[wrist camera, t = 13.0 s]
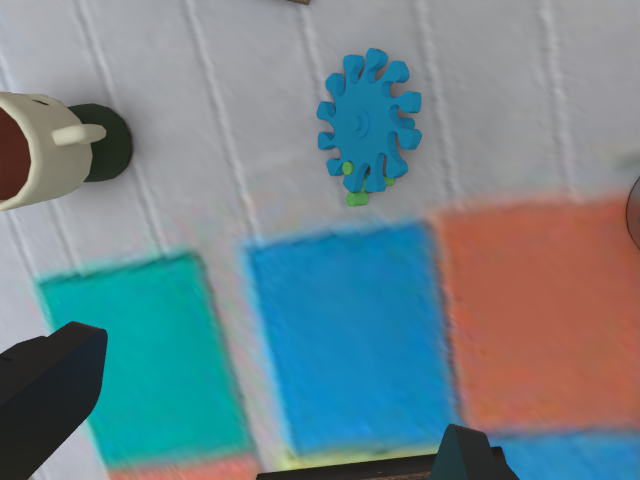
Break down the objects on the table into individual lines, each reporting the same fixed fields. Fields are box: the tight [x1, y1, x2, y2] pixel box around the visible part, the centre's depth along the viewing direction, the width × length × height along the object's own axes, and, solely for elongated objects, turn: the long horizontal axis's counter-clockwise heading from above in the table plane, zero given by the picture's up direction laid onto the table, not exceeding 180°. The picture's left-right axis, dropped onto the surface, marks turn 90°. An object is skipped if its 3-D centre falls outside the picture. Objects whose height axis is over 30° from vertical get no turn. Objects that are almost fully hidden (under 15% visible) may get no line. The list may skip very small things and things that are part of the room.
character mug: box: [0, 92, 131, 211], centre depth 35 cm, size 11×7×13 cm, turn 103°
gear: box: [317, 48, 422, 206], centre depth 36 cm, size 11×6×10 cm
